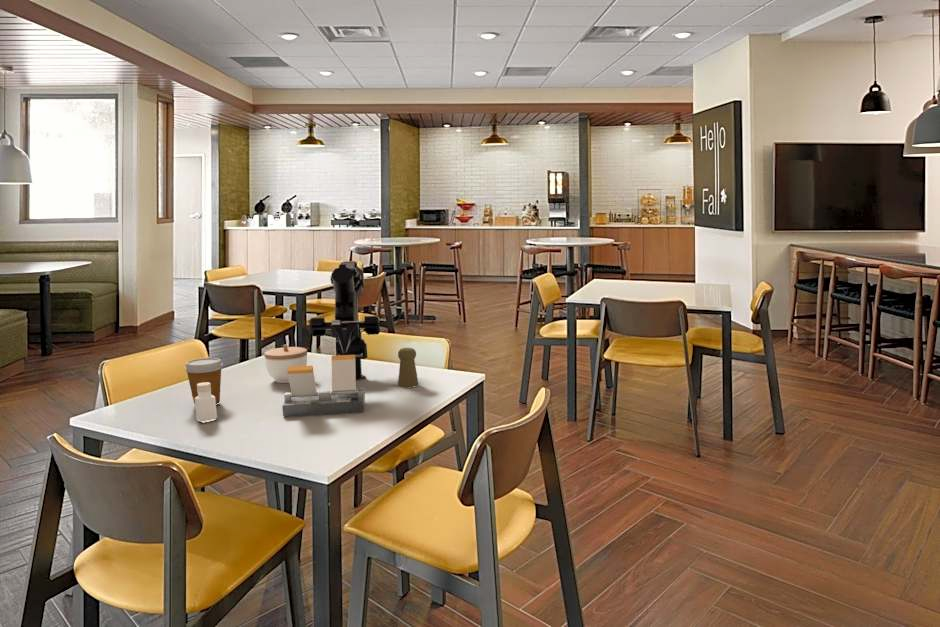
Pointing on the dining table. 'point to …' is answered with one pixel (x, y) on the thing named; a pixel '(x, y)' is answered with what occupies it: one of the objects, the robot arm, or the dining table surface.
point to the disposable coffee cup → (205, 375)
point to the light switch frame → (324, 404)
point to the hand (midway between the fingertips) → (344, 352)
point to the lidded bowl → (284, 361)
